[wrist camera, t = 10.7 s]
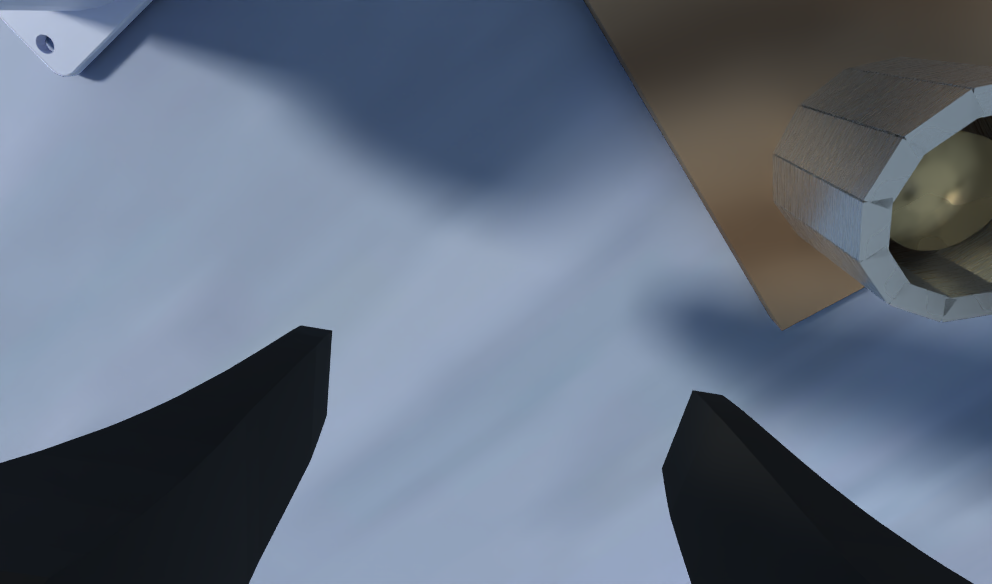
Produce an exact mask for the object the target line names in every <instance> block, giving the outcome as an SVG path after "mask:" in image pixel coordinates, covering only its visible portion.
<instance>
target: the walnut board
mask: <svg viewBox="0 0 992 584" xmlns="http://www.w3.org/2000/svg"><path fill="white" fill-rule="evenodd" d="M584 2H585V3H586V5H587V7H588V8H589V10H590V12H591V13H592V15H593V17H594V19H595V20H596V22H597V24H598V25H599V27H600V29H601V30H602V32H603V34H604V36H605V37H606V39H607V41H608V42H609V44H610V46H611V47H612V49H613V51H614V53H615V54H616V56H617V58H618V59H619V61H620V63H621V64H622V66H623V68H624V70H625V71H626V73H627V75H628V76H629V78H630V80H631V81H632V83H633V85H634V87H635V88H636V90H637V92H638V93H639V95H640V97H641V98H642V100H643V102H644V104H645V105H646V107H647V109H648V110H649V112H650V114H651V115H652V117H653V119H654V121H655V122H656V124H657V126H658V127H659V129H660V131H661V132H662V134H663V136H664V138H665V139H666V141H667V143H668V144H669V146H670V148H671V149H672V151H673V153H674V155H675V156H676V158H677V160H678V161H679V163H680V165H681V166H682V168H683V170H684V172H685V173H686V175H687V177H688V178H689V180H690V182H691V183H692V185H693V187H694V189H695V190H696V192H697V194H698V195H699V197H700V199H701V200H702V202H703V204H704V206H705V207H706V209H707V211H708V212H709V214H710V216H711V217H712V219H713V221H714V223H715V224H716V226H717V228H718V229H719V231H720V233H721V234H722V236H723V238H724V239H725V241H726V243H727V245H728V246H729V248H730V250H731V251H732V253H733V255H734V256H735V258H736V260H737V262H738V263H739V265H740V267H741V268H742V270H743V272H744V273H745V275H746V277H747V279H748V280H749V282H750V284H751V285H752V287H753V289H754V290H755V292H756V294H757V296H758V297H759V299H760V301H761V302H762V304H763V306H764V307H765V309H766V311H767V313H768V314H769V316H770V318H771V319H772V320H773V321H774V322H775V323H776V325H777V326H778V327H779V328H780V329H781V330H782V331H783V330H785V329H786V328H788V327H790V326H792V325H794V324H796V323H798V322H800V321H801V320H803V319H805V318H807V317H809V316H811V315H813V314H815V313H817V312H818V311H820V310H822V309H824V308H826V307H828V306H830V305H832V304H833V303H835V302H837V301H839V300H841V299H843V298H845V297H847V296H849V295H850V294H852V293H854V292H856V291H858V290H860V289H862V288H864V287H865V286H863V285H862V284H861V283H859V282H858V281H857V280H856V279H854V278H853V277H852V276H850V275H849V274H848V273H846V272H845V271H844V270H843V269H841V268H840V267H839V266H837V265H836V264H835V263H833V262H832V261H831V260H830V259H828V258H827V257H826V256H824V255H823V254H822V253H820V252H819V251H818V250H817V249H815V248H814V247H813V246H811V245H810V244H809V243H807V242H806V241H805V240H804V239H802V238H801V237H800V236H798V235H797V234H796V233H795V231H794V230H793V229H792V227H791V226H790V224H789V223H788V221H787V220H786V219H785V217H784V216H783V214H782V213H781V212H780V210H779V209H778V207H777V206H776V205H775V203H774V202H773V201H774V200H773V160H772V155H773V154H775V153H773V152H774V150H775V148H776V146H777V144H778V142H779V140H780V139H781V137H782V135H783V133H784V131H785V129H786V127H787V126H788V124H789V122H790V120H791V118H792V116H793V114H794V113H795V111H796V109H797V107H798V106H801V105H800V103H801V102H803V101H804V100H805V99H807V98H808V97H809V96H811V95H812V94H813V93H815V92H816V91H817V90H819V89H820V88H821V87H822V86H824V85H825V84H826V83H828V82H829V81H830V80H832V79H833V78H834V77H836V76H837V75H838V74H839V73H841V72H842V71H843V70H845V69H848V68H849V67H854V66H859V65H864V64H869V63H873V62H878V61H883V60H888V59H893V58H898V57H909V58H918V59H927V60H936V61H946V62H955V63H964V64H973V65H983V66H992V0H584Z"/></svg>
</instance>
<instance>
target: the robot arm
mask: <svg viewBox="0 0 992 584" xmlns="http://www.w3.org/2000/svg"><path fill="white" fill-rule="evenodd" d="M152 1H153V0H0V18H1V19H2V20H3V21H4V22H5V23H6V24H7V25H8V26H9V28H10V29H11V30H12V31H13V32H14V33H15V34H16V35H17V36H18V37H19V38H20V39H21V40H22V41H23V42H24V43H25V44H26V45H27V46H28V47H29V48H30V49H31V50H32V51H33V52H34V53H35V54H36V55H37V56H38V57H39V58H40V59H41V60H42V61H43V62H44V63H45V64H46V66H47V67H48V68H49V69H50V70H52V71H53V72H54V73H56V74H57V75H60V76H63V77H65V76H75V75H78V74H79V73H81V72H82V71H83V70H84V69H85V68H86V67H87V66H88V65H89V64H90V63H91V62H92V61H93V60H94V59H95V58H96V57H97V56H98V55H99V54H100V53H101V52H102V51H103V50H104V49H105V48H106V47H107V46H108V45H109V44H110V43H111V42H112V41H113V40H114V39H115V38H116V37H117V36H118V35H119V34H120V33H121V32H122V31H123V30H124V29H125V28H126V27H127V26H128V25H129V24H130V23H131V22H132V21H133V20H134V19H135V18H136V17H137V16H138V15H139V14H140V13H141V12H142V11H143V10H144V9H145V8H146V7H147V6H148V5H149V4H150V3H151V2H152ZM47 36H48V37H49V38H51V40H52V41H53V43H54V51H53V52H52V51H51V50H49V48H48V47H47V45H46V40H45V39H46V37H47ZM331 340H332V331H331V330H325V329H319V328H313V327H307V326H299V327H297V328H295V329H294V330H292V331H290V332H289V333H287V334H285V335H284V336H282V337H281V338H279V339H277V340H276V341H274V342H273V343H271V344H269V345H268V346H266V347H265V348H263V349H261V350H260V351H258V352H256V353H255V354H253V355H251V356H250V357H248V358H246V359H245V360H243V361H241V362H240V363H238V364H236V365H235V366H233V367H231V368H230V369H228V370H226V371H225V372H223V373H221V374H219V375H217V376H215V377H213V378H211V379H210V380H208V381H206V382H204V383H202V384H200V385H198V386H196V387H195V388H193V389H191V390H189V391H187V392H185V393H183V394H181V395H180V396H178V397H175V398H173V399H171V400H169V401H167V402H165V403H163V404H161V405H159V406H156V407H154V408H152V409H150V410H148V411H145V412H143V413H140V414H138V415H136V416H133V417H131V418H129V419H126V420H124V421H122V422H119V423H117V424H114V425H112V426H109V427H107V428H104V429H101V430H98V431H95V432H93V433H90V434H87V435H84V436H81V437H78V438H76V439H73V440H70V441H67V442H64V443H62V444H59V445H56V446H53V447H50V448H47V449H45V450H42V451H38V452H35V453H32V454H29V455H25V456H22V457H19V458H15V459H12V460H9V461H5V462H2V463H0V584H249V582H250V580H251V577H252V575H253V573H254V571H255V569H256V567H257V564H258V562H259V560H260V558H261V556H262V554H263V552H264V551H265V549H266V547H267V545H268V543H269V541H270V539H271V537H272V535H273V533H274V531H275V529H276V527H277V525H278V523H279V521H280V519H281V518H282V516H283V514H284V512H285V510H286V508H287V506H288V504H289V502H290V500H291V498H292V496H293V494H294V492H295V490H296V488H297V486H298V484H299V482H300V480H301V478H302V476H303V475H304V473H305V471H306V469H307V467H308V465H309V462H310V460H311V458H312V455H313V452H314V450H315V447H316V444H317V442H318V439H319V436H320V433H321V430H322V427H323V425H324V422H325V419H326V416H327V402H328V387H329V371H330V356H331ZM662 472H663V478H664V485H665V491H666V497H667V503H668V508H669V513H670V517H671V521H672V524H673V527H674V531H675V534H676V537H677V540H678V543H679V547H680V550H681V553H682V556H683V559H684V562H685V565H686V568H687V572H688V575H689V578H690V581H691V584H973V583H971V582H970V581H968V580H966V579H965V578H963V577H962V576H960V575H958V574H957V573H955V572H953V571H952V570H950V569H948V568H947V567H945V566H943V565H942V564H940V563H939V562H937V561H936V560H934V559H933V558H931V557H929V556H928V555H926V554H925V553H923V552H922V551H920V550H919V549H917V548H916V547H914V546H913V545H911V544H910V543H909V542H907V541H906V540H904V539H903V538H901V537H900V536H898V535H897V534H895V533H894V532H893V531H891V530H890V529H888V528H887V527H885V526H884V525H882V524H881V523H880V522H878V521H877V520H875V519H874V518H873V517H871V516H870V515H869V514H867V513H866V512H865V511H863V510H862V509H861V508H859V507H858V506H857V505H855V504H854V503H853V502H852V501H850V500H849V499H848V498H846V497H845V496H844V495H843V494H841V493H840V492H839V491H837V490H836V489H835V488H834V487H832V486H831V485H830V484H828V483H827V482H826V481H825V480H824V479H822V478H821V477H820V476H819V475H818V474H816V473H815V472H814V471H813V470H811V469H810V468H809V467H808V466H807V465H805V464H804V463H803V462H802V461H801V460H800V459H798V458H797V457H796V456H795V455H794V454H792V453H791V452H790V451H789V450H788V449H787V448H785V447H784V446H783V445H782V444H781V443H780V442H779V441H777V440H776V439H775V438H774V437H773V436H772V435H770V434H769V433H768V432H767V431H766V430H765V429H764V428H762V427H761V426H760V425H759V424H758V423H757V422H755V421H754V420H753V419H752V418H751V417H750V416H748V415H747V414H746V413H745V412H744V411H742V410H741V409H740V408H739V407H737V406H736V405H735V404H734V403H732V402H731V401H730V400H728V399H727V398H726V397H724V396H723V395H718V394H712V393H706V392H699V391H692V394H691V396H690V399H689V401H688V404H687V406H686V409H685V411H684V414H683V416H682V419H681V421H680V424H679V427H678V429H677V432H676V434H675V437H674V439H673V442H672V444H671V447H670V449H669V452H668V454H667V457H666V459H665V462H664V464H663V467H662Z"/></svg>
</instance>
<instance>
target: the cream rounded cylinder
mask: <svg viewBox="0 0 992 584" xmlns="http://www.w3.org/2000/svg"><path fill="white" fill-rule="evenodd" d="M991 218H992V140H991V139H989V138H987V137H984V136H981V135H977V134H973V133H970V132H966V131H962V130H960V131H958V132H957V133H955V134H954V135H952V136H951V137H950V138H948V139H947V140H945V141H944V142H942V143H941V144H939V145H938V146H936V147H935V148H934V149H932V150H931V151H929V152H928V153H926V154H925V155H924V156H923V158H922V159H921V161H920V162H919V164H918V165H917V167H916V168H915V170H914V172H913V173H912V175H911V176H910V178H909V179H908V181H907V182H906V184H905V185H904V187H903V188H902V190H901V191H900V193H899V195H898V196H897V198H896V199H895V201H894V202H893V205H892V217H891V228H890V239H892V240H894V241H895V242H897V243H899V244H900V245H902V246H904V247H907V248H910V249H914V250H921V251H932V250H939V249H943V248H947V247H950V246H953V245H955V244H958V243H960V242H962V241H964V240H966V239H967V238H969V237H971V236H972V235H973V234H975V233H976V232H978V231H979V230H980V229H981V228H982V227H983V226H985V225H986V224H987V223H988V222H989V220H990V219H991Z"/></svg>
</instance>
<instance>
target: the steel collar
mask: <svg viewBox="0 0 992 584" xmlns="http://www.w3.org/2000/svg"><path fill="white" fill-rule="evenodd" d="M800 105H801V106H798V107H797V109H796V111H795V113H794V114H793V116H792V118H791V120H790V122H789V124H788V126H787V127H786V129H785V131H784V133H783V135H782V137H781V139H780V140H779V142H778V144H777V146H776V148H775V150H774V152H773V153H775V154H773V155H772V160H773V200H774V201H773V202H774V203H775V205H776V206H777V207H778V209H779V210H780V212H781V213H782V214H783V216H784V217H785V219H786V220H787V221H788V223H789V224H790V226H791V227H792V229H793V230H794V231H795V233H796V234H797V235H798V236H800V237H801V238H802V239H804V240H805V241H806V242H807V243H809V244H810V245H811V246H813V247H814V248H815V249H817V250H818V251H819V252H820V253H822V254H823V255H824V256H826V257H827V258H828V259H830V260H831V261H832V262H833V263H835V264H836V265H837V266H839V267H840V268H841V269H843V270H844V271H845V272H846V273H848V274H849V275H850V276H852V277H853V278H854V279H856V280H857V281H858V282H859V283H861V284H862V285H863V286H865V287H866V288H867V289H869V290H870V291H871V292H872V293H874V294H875V295H876V296H878V297H879V298H880V299H882V300H883V301H884V302H885V303H887V304H888V305H890V306H893V307H896V308H899V309H902V310H905V311H908V312H911V313H914V314H917V315H920V316H923V317H926V318H929V319H932V320H935V321H938V322H948V321H954V320H961V319H967V318H973V317H980V316H986V315H992V218H991V219H990V220H989V222H988V223H987V224H986V225H985V226H983V227H982V228H981V229H980V230H979V231H978V232H976V233H975V234H973V235H972V236H971V237H969V238H967V239H966V240H964V241H962V242H960V243H958V244H955V245H953V246H950V247H947V248H943V249H939V250H932V251H921V250H914V249H910V248H907V247H904V246H902V245H900V244H899V243H897V242H895V241H894V240H892V239H890V228H891V217H892V205H893V202H894V201H895V199H896V198H897V196H898V195H899V193H900V191H901V190H902V188H903V187H904V185H905V184H906V182H907V181H908V179H909V178H910V176H911V175H912V173H913V172H914V170H915V168H916V167H917V165H918V164H919V162H920V161H921V159H922V158H923V156H924V155H925V154H926V153H928V152H929V151H931V150H932V149H934V148H935V147H936V146H938V145H939V144H941V143H942V142H944V141H945V140H947V139H948V138H950V137H951V136H952V135H954V134H955V133H957V132H958V131H960V130H962V131H966V132H970V133H973V134H977V135H981V136H984V137H987V138H989V139H991V140H992V66H983V65H973V64H964V63H955V62H946V61H936V60H927V59H918V58H909V57H898V58H893V59H888V60H883V61H878V62H873V63H869V64H864V65H859V66H854V67H849V68H848V69H845V70H843V71H842V72H841V73H839V74H838V75H837V76H836V77H834V78H833V79H832V80H830V81H829V82H828V83H826V84H825V85H824V86H822V87H821V88H820V89H819V90H817V91H816V92H815V93H813V94H812V95H811V96H809V97H808V98H807V99H805V100H804V101H803V102H801V103H800Z"/></svg>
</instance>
